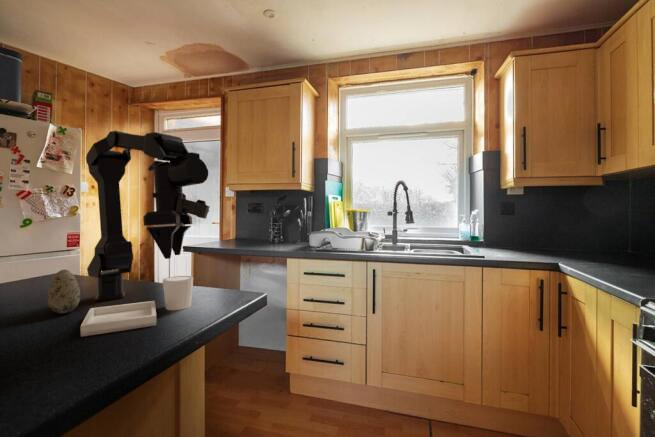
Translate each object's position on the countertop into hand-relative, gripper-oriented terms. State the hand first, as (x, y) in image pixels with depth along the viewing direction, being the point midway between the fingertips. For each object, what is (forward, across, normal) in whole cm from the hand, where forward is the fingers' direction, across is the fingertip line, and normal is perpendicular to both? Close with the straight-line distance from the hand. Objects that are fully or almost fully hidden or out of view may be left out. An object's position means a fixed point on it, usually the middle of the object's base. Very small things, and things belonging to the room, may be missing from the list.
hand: (173, 256), depth 77 cm
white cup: (+13, +5, +1) cm, 14 cm away
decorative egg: (+11, +6, +25) cm, 28 cm away
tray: (+12, -4, +10) cm, 16 cm away
